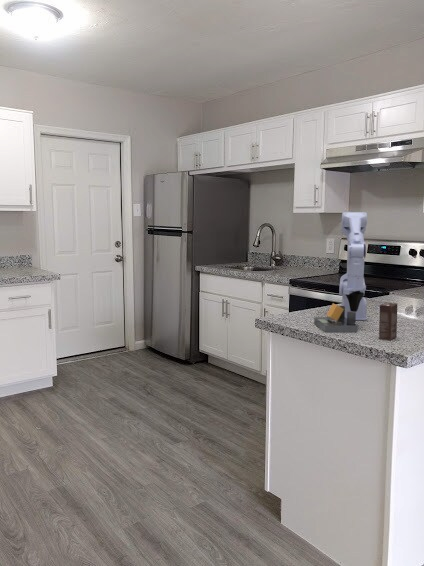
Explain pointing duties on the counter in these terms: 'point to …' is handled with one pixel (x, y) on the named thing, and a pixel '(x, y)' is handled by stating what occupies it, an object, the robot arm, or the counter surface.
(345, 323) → the grey flat block
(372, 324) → the counter surface
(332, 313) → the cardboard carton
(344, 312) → the post
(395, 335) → the box
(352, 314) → the post
